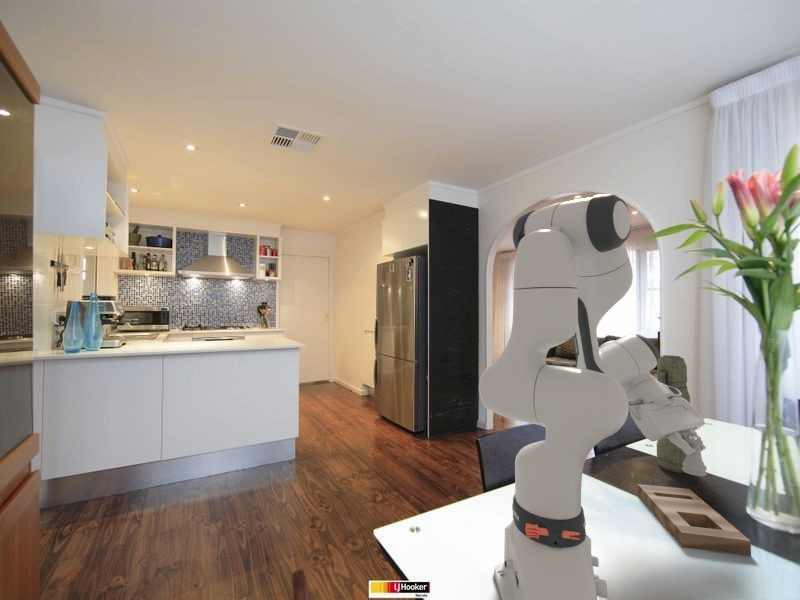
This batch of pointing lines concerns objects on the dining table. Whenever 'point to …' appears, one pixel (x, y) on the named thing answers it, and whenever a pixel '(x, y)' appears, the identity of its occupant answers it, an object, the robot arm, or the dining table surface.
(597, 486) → the dining table surface
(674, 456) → the thermos
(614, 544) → the dining table surface
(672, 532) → the block
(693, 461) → the rook chess piece
